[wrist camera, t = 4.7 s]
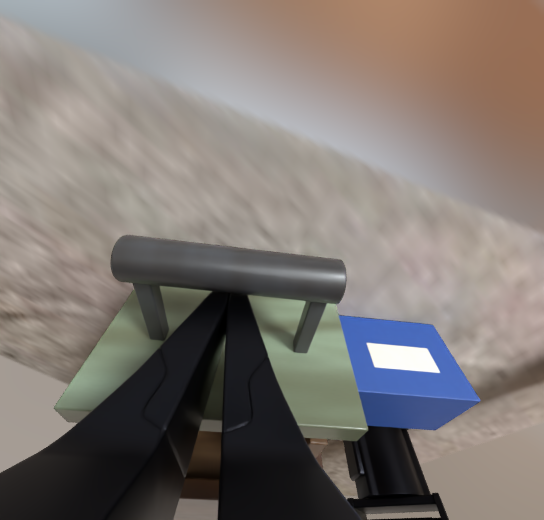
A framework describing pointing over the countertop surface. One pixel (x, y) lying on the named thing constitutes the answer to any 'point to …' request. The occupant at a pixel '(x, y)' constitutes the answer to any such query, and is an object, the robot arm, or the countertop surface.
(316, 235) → the countertop surface
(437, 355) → the block
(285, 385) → the drawer
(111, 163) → the countertop surface
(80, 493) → the robot arm
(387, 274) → the countertop surface
